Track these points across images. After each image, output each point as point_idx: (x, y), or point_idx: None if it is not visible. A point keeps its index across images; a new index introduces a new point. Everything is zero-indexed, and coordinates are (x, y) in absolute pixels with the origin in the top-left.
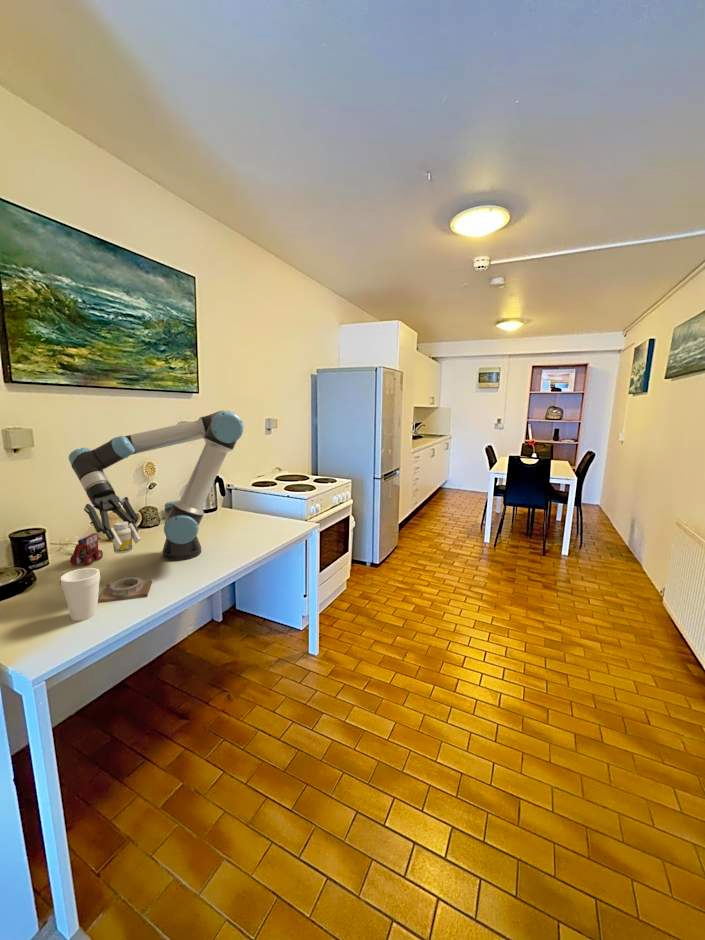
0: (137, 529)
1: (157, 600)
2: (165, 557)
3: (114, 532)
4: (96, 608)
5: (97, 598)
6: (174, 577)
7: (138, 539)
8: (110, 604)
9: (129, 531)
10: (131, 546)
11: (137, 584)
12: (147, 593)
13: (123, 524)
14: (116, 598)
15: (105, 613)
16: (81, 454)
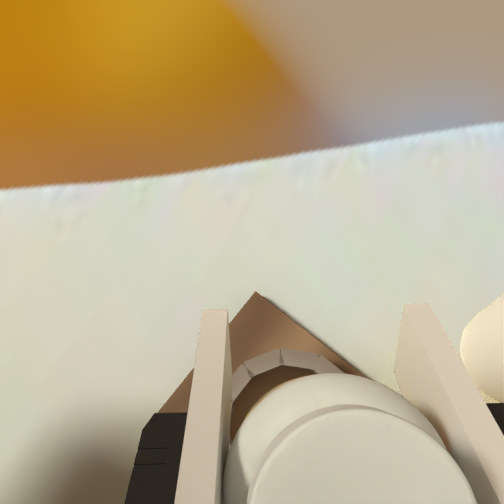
0: (149, 430)
1: (249, 225)
2: None
3: (480, 429)
4: (478, 315)
5: (492, 307)
6: (53, 378)
7: (225, 312)
8: (394, 359)
9: (281, 388)
10: (264, 394)
11: (260, 362)
12: (248, 301)
13: (373, 410)
14: (361, 374)
15: (440, 295)
16: None
